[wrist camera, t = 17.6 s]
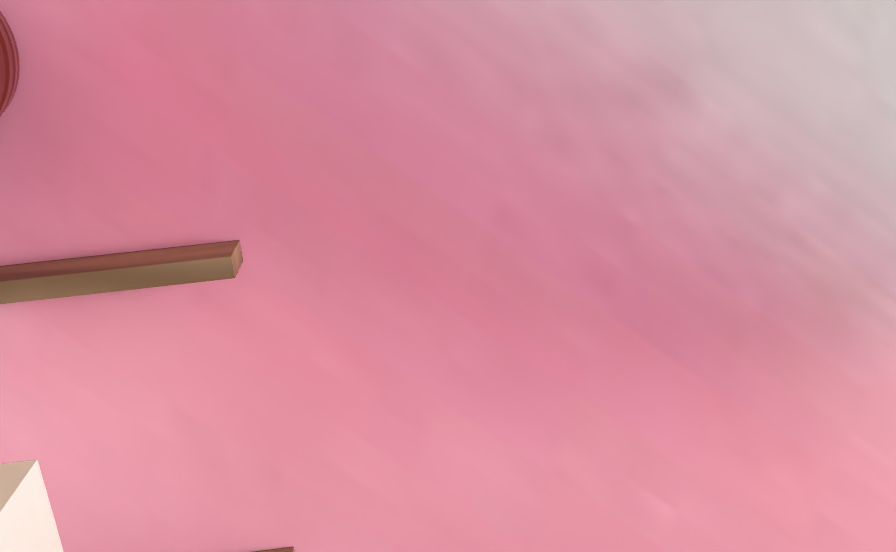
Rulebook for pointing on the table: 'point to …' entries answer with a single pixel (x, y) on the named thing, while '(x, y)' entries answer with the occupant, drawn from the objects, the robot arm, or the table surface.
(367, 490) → the table surface
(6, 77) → the mug
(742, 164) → the table surface
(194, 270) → the bar
